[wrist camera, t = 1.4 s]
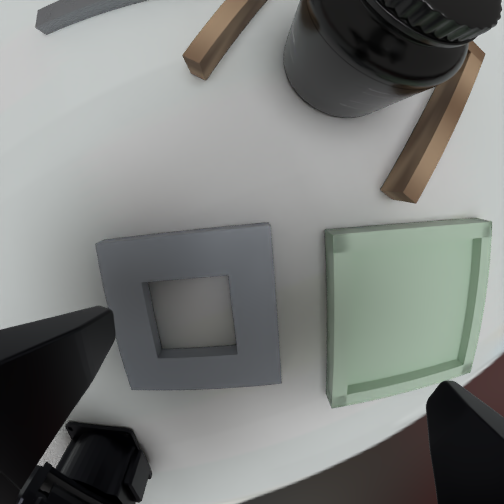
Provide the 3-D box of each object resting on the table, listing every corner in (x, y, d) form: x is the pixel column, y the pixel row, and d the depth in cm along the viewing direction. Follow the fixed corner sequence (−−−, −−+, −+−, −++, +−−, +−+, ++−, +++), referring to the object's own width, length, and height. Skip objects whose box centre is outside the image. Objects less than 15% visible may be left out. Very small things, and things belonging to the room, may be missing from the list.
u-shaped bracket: (392, 199, 18) (416, 203, 15) (191, 73, 16) (182, 55, 13) (460, 64, 16) (485, 53, 13) (293, -49, 14) (299, -74, 11)
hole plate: (136, 380, 20) (131, 389, 19) (103, 239, 18) (95, 243, 17) (279, 373, 21) (281, 383, 19) (268, 222, 18) (270, 225, 17)
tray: (326, 393, 21) (331, 408, 19) (324, 229, 18) (332, 235, 17) (459, 361, 21) (470, 372, 19) (476, 218, 19) (492, 221, 17)
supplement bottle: (264, 33, 16) (288, -113, 4) (363, 14, 15) (455, -93, 4) (306, 135, 17) (407, 69, 6) (405, 108, 17) (550, 60, 5)
